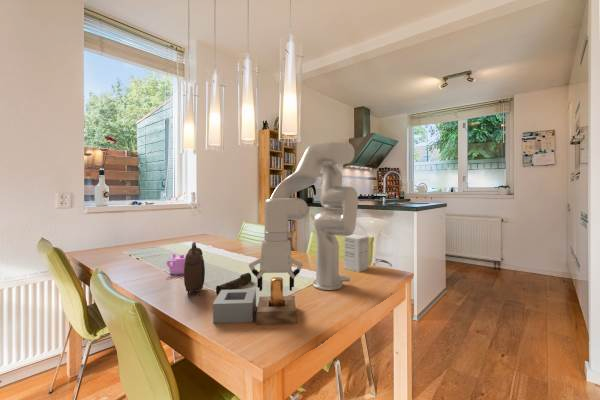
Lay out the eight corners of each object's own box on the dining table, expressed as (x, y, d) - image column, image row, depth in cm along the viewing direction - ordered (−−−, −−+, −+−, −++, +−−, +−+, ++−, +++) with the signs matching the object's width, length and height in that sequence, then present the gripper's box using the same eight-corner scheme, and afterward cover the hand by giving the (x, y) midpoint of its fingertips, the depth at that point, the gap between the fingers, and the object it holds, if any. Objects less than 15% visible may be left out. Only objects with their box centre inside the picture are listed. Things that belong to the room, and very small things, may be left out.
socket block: (256, 305, 99) (255, 289, 99) (252, 321, 87) (252, 302, 87) (221, 306, 98) (221, 289, 98) (213, 323, 86) (212, 303, 86)
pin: (283, 312, 93) (282, 277, 93) (283, 318, 90) (282, 280, 89) (271, 312, 93) (270, 277, 93) (270, 318, 89) (270, 281, 89)
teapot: (172, 269, 145) (172, 252, 144) (200, 268, 146) (199, 251, 146) (163, 276, 133) (163, 257, 133) (193, 275, 134) (193, 257, 134)
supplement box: (354, 265, 151) (354, 234, 151) (369, 268, 145) (369, 236, 144) (343, 268, 145) (343, 236, 144) (358, 272, 138) (358, 238, 137)
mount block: (294, 307, 98) (294, 295, 98) (296, 323, 86) (296, 310, 86) (259, 308, 97) (259, 296, 97) (256, 324, 85) (256, 311, 85)
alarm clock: (204, 297, 106) (203, 245, 106) (183, 299, 104) (182, 246, 103) (205, 285, 120) (205, 238, 119) (187, 286, 118) (186, 239, 117)
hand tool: (222, 296, 108) (222, 285, 108) (215, 294, 110) (215, 283, 110) (255, 283, 124) (255, 272, 123) (249, 281, 126) (249, 271, 126)
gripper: (302, 235, 95) (301, 285, 95) (250, 235, 93) (250, 286, 94) (303, 238, 87) (303, 293, 87) (247, 238, 86) (247, 294, 86)
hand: (275, 289), depth 91 cm, fingers open, 9 cm apart
